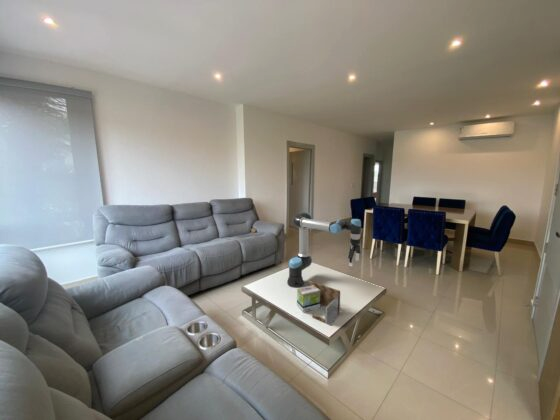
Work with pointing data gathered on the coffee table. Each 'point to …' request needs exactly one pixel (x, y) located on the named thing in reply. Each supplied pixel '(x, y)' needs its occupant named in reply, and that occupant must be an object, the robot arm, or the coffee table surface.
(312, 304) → the tea box
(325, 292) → the shelf wall
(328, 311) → the bookend
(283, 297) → the coffee table surface
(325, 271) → the coffee table surface
